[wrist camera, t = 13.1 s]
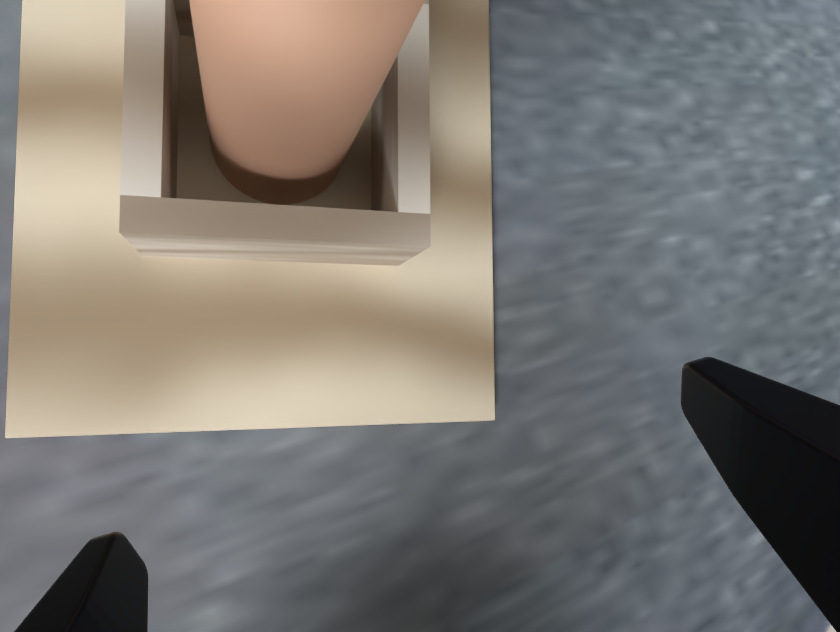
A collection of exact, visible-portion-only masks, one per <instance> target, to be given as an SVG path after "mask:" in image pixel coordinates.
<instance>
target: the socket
mask: <svg viewBox="0 0 840 632" xmlns="http://www.w3.org/2000/svg"><path fill="white" fill-rule="evenodd" d="M491 420H495V392H494V324H493V255H492V187H491V118H490V50H489V0H425V1H424V3H423V5H422V7H421V9H420V11H419V13H418V15H417V17H416V19H415V21H414V23H413V25H412V27H411V29H410V31H409V33H408V35H407V37H406V39H405V41H404V43H403V45H402V47H401V49H400V51H399V53H398V55H397V57H396V59H395V61H394V63H393V65H392V67H391V69H390V71H389V73H388V75H387V77H386V79H385V81H384V82H383V84H382V86H381V88H380V90H379V92H378V94H377V96H376V98H375V100H374V102H373V104H372V106H371V108H370V110H369V112H368V114H367V116H366V118H365V120H364V122H363V124H362V126H361V128H360V130H359V132H358V134H357V136H356V138H355V140H354V142H353V144H352V146H351V148H350V150H349V152H348V154H347V156H346V158H345V160H344V162H343V164H342V166H341V168H340V169H339V171H338V173H337V175H336V177H335V178H334V180H333V181H332V182H331V184H330V185H329V186H328V187H327V188H326V189H325V190H323V191H322V192H321V193H320V194H318V195H316V196H315V197H313V198H311V199H309V200H306V201H304V202H300V203H296V204H288V205H276V204H269V203H265V202H261V201H258V200H256V199H253V198H251V197H249V196H247V195H246V194H244V193H242V192H241V191H239V190H238V189H237V188H235V187H234V186H233V185H232V184H231V183H230V182H229V181H228V180H227V179H226V177H225V176H224V175H223V174H222V172H221V170H220V169H219V167H218V165H217V163H216V161H215V159H214V156H213V153H212V150H211V144H210V138H209V131H208V124H207V118H206V111H205V104H204V97H203V91H202V84H201V77H200V70H199V63H198V57H197V50H196V43H195V36H194V29H193V23H192V16H191V9H190V2H189V0H23V1H22V26H21V51H20V77H19V102H18V127H17V152H16V178H15V203H14V228H13V253H12V278H11V304H10V329H9V354H8V379H7V405H6V430H5V438H22V437H49V436H77V435H104V434H132V433H160V432H187V431H215V430H242V429H270V428H298V427H325V426H353V425H380V424H408V423H435V422H463V421H491Z"/></svg>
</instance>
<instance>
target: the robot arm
mask: <svg viewBox="0 0 840 632" xmlns="http://www.w3.org/2000/svg"><path fill="white" fill-rule="evenodd" d="M681 406H682V410H683V413H684V415H685V417H686V419H687V420H688V422H689V424H690V425H691V427H692V428H693V430H694V432H695V433H696V435H697V437H698V438H699V440H700V442H701V443H702V445H703V447H704V448H705V450H706V452H707V453H708V455H709V457H710V458H711V460H712V462H713V463H714V465H715V467H716V468H717V470H718V472H719V473H720V475H721V477H722V478H723V480H724V482H725V483H726V485H727V486H728V488H729V489H730V491H731V493H732V494H733V496H734V497H735V498H736V500H737V501H738V503H739V504H740V505H741V507H742V508H743V509H744V511H745V512H746V513H747V515H748V516H749V517H750V519H751V520H752V521H753V523H754V524H755V525H756V527H757V528H758V529H759V530H760V532H761V533H762V534H763V536H764V537H765V538H766V540H767V541H768V542H769V544H770V545H771V546H772V548H773V549H774V550H775V551H776V553H777V554H778V555H779V557H780V558H781V559H782V561H783V562H784V563H785V565H786V566H787V567H788V569H789V570H790V571H791V572H792V574H793V575H794V576H795V578H796V579H797V580H798V582H799V583H800V584H801V586H802V587H803V588H804V590H805V591H806V592H807V593H808V595H809V596H810V597H811V599H812V600H813V601H814V603H815V604H816V605H817V607H818V608H819V609H820V611H821V612H822V613H823V614H824V616H825V617H826V618H827V620H828V621H829V622H830V624H831V625H832V626H833V628H834V629H835V630H836V632H840V405H838V404H835V403H832V402H830V401H827V400H824V399H822V398H819V397H816V396H814V395H811V394H808V393H806V392H803V391H800V390H798V389H795V388H792V387H790V386H787V385H784V384H782V383H779V382H776V381H774V380H771V379H769V378H766V377H763V376H761V375H758V374H755V373H753V372H750V371H747V370H745V369H742V368H739V367H737V366H734V365H731V364H729V363H726V362H723V361H721V360H718V359H715V358H712V357H704V358H701V359H697V360H694V361H691V362H688V363H686V364H685V365H684V366H683V368H682V384H681ZM147 622H148V573H147V569H146V566H145V564H144V562H143V560H142V559H141V557H140V556H139V555H138V553H137V552H136V551H135V549H134V548H133V546H132V545H131V544H130V542H129V541H128V539H127V538H126V537H125V536H124V534H122V533H120V532H112V533H109V534H105V535H102V536H98V537H95V538H93V539H91V540H90V541H89V542H88V543H87V544H86V545H85V546H84V547H83V548H82V550H81V551H80V552H79V553H78V555H77V556H76V557H75V558H74V559H73V561H72V562H71V563H70V564H69V565H68V567H67V568H66V569H65V570H64V572H63V573H62V574H61V575H60V576H59V578H58V579H57V580H56V581H55V583H54V584H53V585H52V586H51V587H50V589H49V590H48V591H47V592H46V594H45V595H44V596H43V597H42V598H41V600H40V601H39V602H38V603H37V605H36V606H35V607H34V608H33V609H32V611H31V612H30V613H29V614H28V616H27V617H26V618H25V619H24V620H23V622H22V623H21V624H20V625H19V627H18V628H17V629H16V630H15V631H14V632H147Z"/></svg>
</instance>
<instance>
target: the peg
mask: <svg viewBox="0 0 840 632" xmlns="http://www.w3.org/2000/svg"><path fill="white" fill-rule="evenodd" d="M424 1H425V0H189V2H190V9H191V16H192V23H193V29H194V36H195V43H196V50H197V57H198V63H199V70H200V77H201V84H202V91H203V97H204V104H205V111H206V118H207V124H208V131H209V138H210V144H211V150H212V153H213V156H214V159H215V161H216V163H217V165H218V167H219V169H220V170H221V172H222V174H223V175H224V176H225V177H226V179H227V180H228V181H229V182H230V183H231V184H232V185H233V186H234V187H235V188H237V189H238V190H239V191H241V192H242V193H244V194H246V195H247V196H249V197H251V198H253V199H256V200H258V201H261V202H265V203H269V204H276V205H288V204H296V203H300V202H304V201H306V200H309V199H311V198H313V197H315V196H316V195H318V194H320V193H321V192H322V191H323V190H325V189H326V188H327V187H328V186H329V185H330V184H331V182H332V181H333V180H334V178H335V177H336V175H337V173H338V171H339V169H340V168H341V166H342V164H343V162H344V160H345V158H346V156H347V154H348V152H349V150H350V148H351V146H352V144H353V142H354V140H355V138H356V136H357V134H358V132H359V130H360V128H361V126H362V124H363V122H364V120H365V118H366V116H367V114H368V112H369V110H370V108H371V106H372V104H373V102H374V100H375V98H376V96H377V94H378V92H379V90H380V88H381V86H382V84H383V82H384V81H385V79H386V77H387V75H388V73H389V71H390V69H391V67H392V65H393V63H394V61H395V59H396V57H397V55H398V53H399V51H400V49H401V47H402V45H403V43H404V41H405V39H406V37H407V35H408V33H409V31H410V29H411V27H412V25H413V23H414V21H415V19H416V17H417V15H418V13H419V11H420V9H421V7H422V5H423V3H424Z"/></svg>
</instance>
